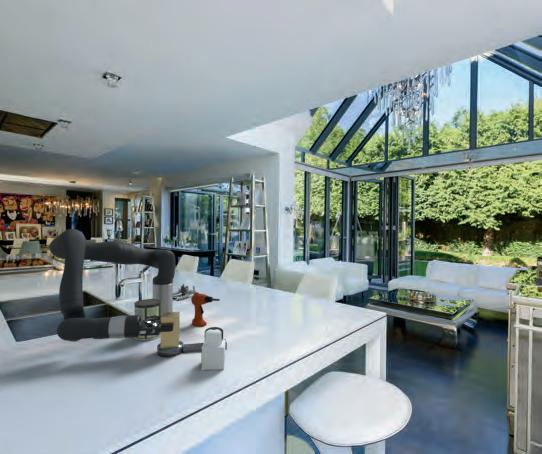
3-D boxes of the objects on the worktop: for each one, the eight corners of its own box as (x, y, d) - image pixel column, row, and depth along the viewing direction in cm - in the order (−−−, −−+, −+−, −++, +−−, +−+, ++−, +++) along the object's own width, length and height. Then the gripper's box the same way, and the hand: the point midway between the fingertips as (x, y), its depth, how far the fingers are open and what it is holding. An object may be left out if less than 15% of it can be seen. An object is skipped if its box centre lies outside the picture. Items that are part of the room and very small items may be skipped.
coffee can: (146, 330, 133) (146, 297, 133) (166, 333, 130) (166, 300, 130) (128, 338, 123) (128, 303, 123) (149, 342, 120) (149, 306, 120)
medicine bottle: (204, 360, 105) (204, 325, 105) (225, 360, 105) (225, 324, 105) (201, 370, 98) (201, 332, 98) (223, 369, 98) (224, 332, 98)
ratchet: (155, 358, 106) (155, 336, 106) (158, 347, 115) (158, 327, 115) (227, 352, 112) (227, 331, 112) (225, 342, 120) (225, 323, 120)
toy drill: (217, 329, 131) (214, 294, 132) (189, 325, 142) (187, 293, 143) (225, 326, 134) (223, 292, 135) (198, 323, 146) (195, 291, 147)
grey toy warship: (183, 292, 203) (158, 303, 187) (182, 282, 202) (157, 292, 186) (198, 295, 196) (173, 307, 179) (197, 285, 195) (172, 295, 178)
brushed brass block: (160, 348, 108) (160, 317, 108) (162, 342, 114) (162, 312, 114) (178, 347, 109) (178, 316, 109) (179, 341, 115) (179, 311, 115)
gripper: (120, 322, 101) (172, 319, 105) (129, 310, 115) (175, 308, 119) (120, 345, 101) (172, 341, 105) (129, 330, 115) (175, 327, 119)
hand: (173, 323), depth 112 cm, fingers open, 8 cm apart
